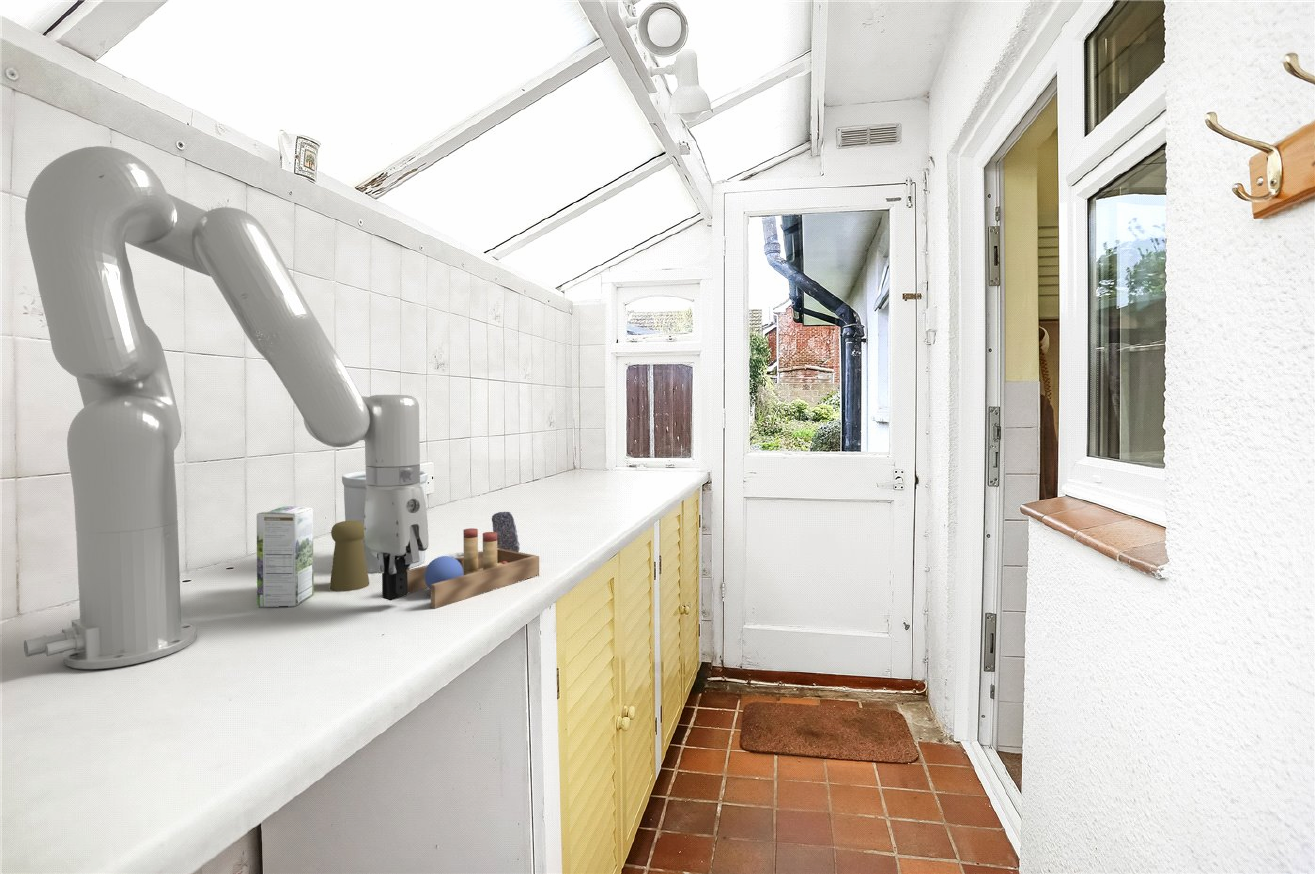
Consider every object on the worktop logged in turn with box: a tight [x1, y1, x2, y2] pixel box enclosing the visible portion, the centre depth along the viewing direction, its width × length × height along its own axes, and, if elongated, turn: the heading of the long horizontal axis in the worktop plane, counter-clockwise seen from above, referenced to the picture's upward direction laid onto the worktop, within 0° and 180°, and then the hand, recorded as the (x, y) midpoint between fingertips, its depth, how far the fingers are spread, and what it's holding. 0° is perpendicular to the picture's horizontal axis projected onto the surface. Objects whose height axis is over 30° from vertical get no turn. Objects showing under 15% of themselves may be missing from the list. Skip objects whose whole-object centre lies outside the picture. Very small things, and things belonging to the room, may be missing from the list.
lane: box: [407, 548, 540, 609], centre depth 105 cm, size 22×11×4 cm, turn 146°
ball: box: [424, 555, 463, 590], centre depth 100 cm, size 6×6×6 cm
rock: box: [491, 511, 521, 552], centre depth 123 cm, size 12×5×10 cm, turn 20°
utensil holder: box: [341, 469, 428, 574], centre depth 118 cm, size 15×15×18 cm
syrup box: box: [256, 505, 314, 608], centre depth 95 cm, size 6×6×14 cm
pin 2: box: [482, 531, 497, 570], centre depth 105 cm, size 2×2×9 cm
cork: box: [329, 520, 370, 592], centre depth 103 cm, size 6×6×11 cm
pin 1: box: [462, 527, 479, 574], centre depth 108 cm, size 2×2×9 cm
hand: (395, 597), depth 93 cm, fingers closed
